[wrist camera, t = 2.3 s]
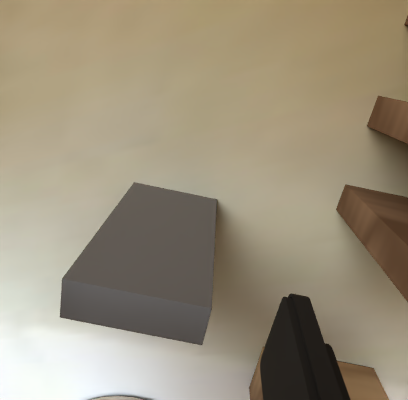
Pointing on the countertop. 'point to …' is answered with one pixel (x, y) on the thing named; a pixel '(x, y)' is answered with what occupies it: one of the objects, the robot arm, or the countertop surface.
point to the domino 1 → (148, 267)
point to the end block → (352, 375)
